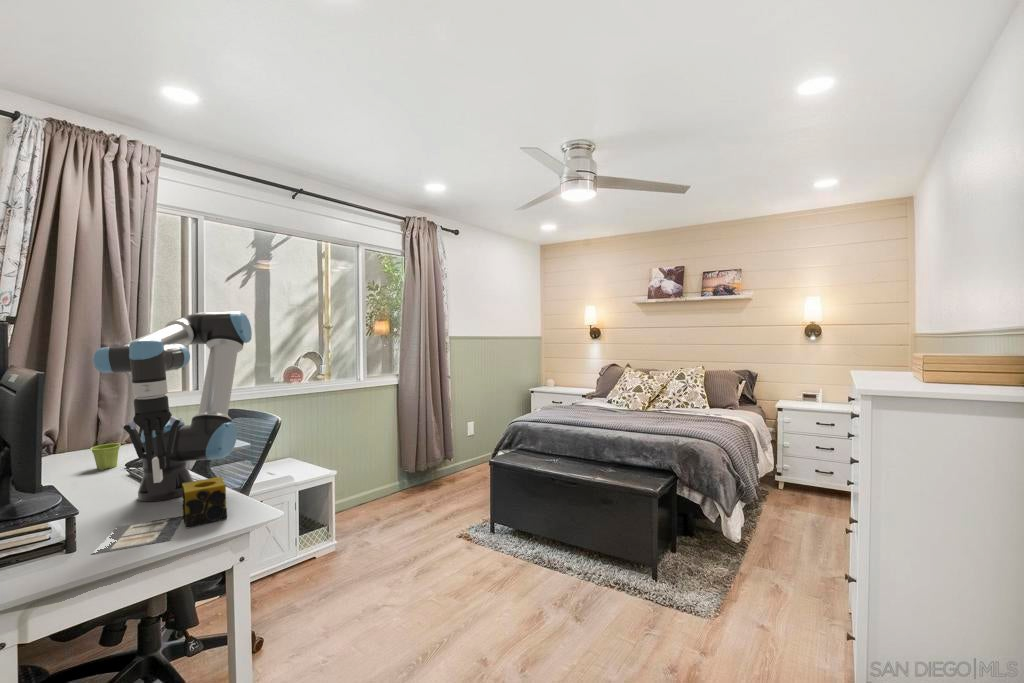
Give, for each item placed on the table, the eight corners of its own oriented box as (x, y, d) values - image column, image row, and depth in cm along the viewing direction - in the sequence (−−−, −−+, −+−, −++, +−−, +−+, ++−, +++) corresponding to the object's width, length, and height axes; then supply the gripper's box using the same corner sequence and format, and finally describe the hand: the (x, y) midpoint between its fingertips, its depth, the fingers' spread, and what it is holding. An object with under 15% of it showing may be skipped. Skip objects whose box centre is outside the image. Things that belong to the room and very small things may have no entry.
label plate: (116, 526, 134) (116, 526, 134) (185, 515, 140) (185, 515, 140) (90, 554, 117) (90, 554, 117) (169, 540, 124) (169, 540, 124)
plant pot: (128, 463, 200) (126, 442, 199) (110, 470, 190) (109, 448, 190) (104, 464, 199) (102, 443, 199) (85, 471, 190) (83, 449, 189)
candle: (182, 517, 138) (180, 483, 138) (223, 508, 144) (221, 475, 144) (184, 529, 130) (182, 492, 130) (227, 519, 136) (226, 484, 136)
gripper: (116, 401, 126) (124, 489, 128) (176, 396, 131) (183, 481, 133) (126, 396, 133) (133, 480, 135) (182, 392, 138) (189, 473, 140)
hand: (158, 481), depth 134 cm, fingers closed
